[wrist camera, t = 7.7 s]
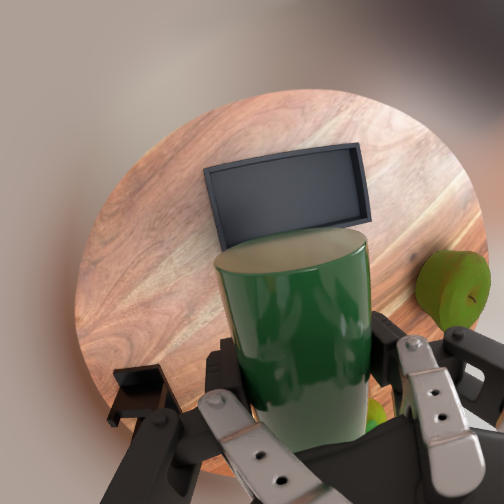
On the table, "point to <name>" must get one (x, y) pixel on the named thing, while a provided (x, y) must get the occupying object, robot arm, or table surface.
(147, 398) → the rack
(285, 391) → the green bottle
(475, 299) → the apple
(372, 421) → the fruit
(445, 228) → the table surface
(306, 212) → the tray
